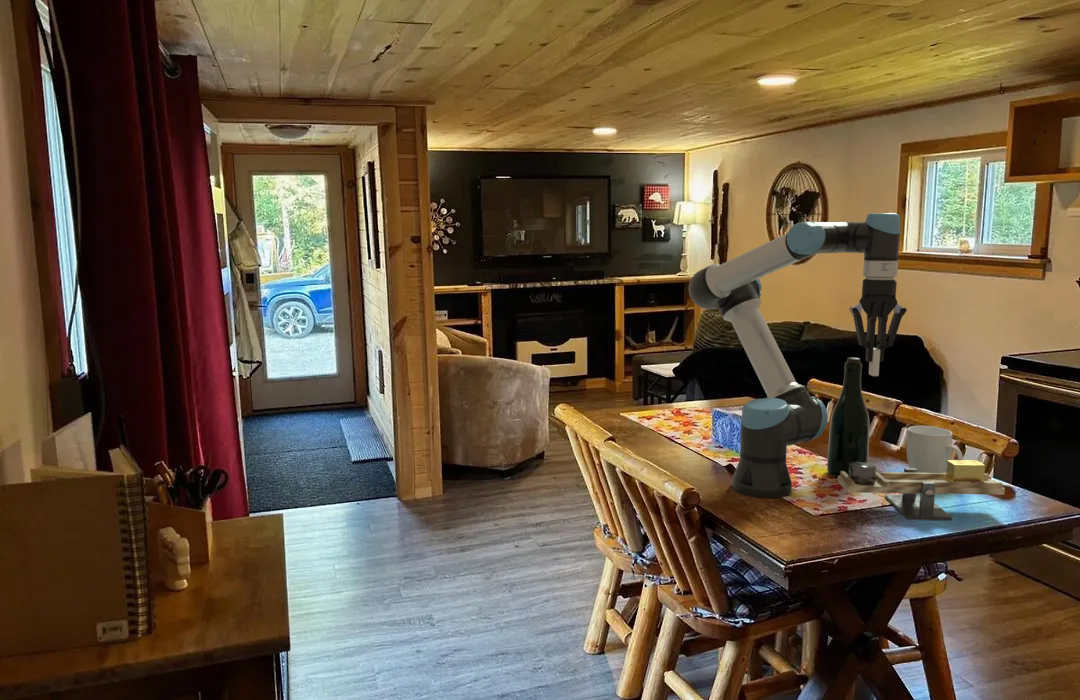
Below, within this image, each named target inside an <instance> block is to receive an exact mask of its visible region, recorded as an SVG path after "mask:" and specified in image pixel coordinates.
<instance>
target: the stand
mask: <svg viewBox="0 0 1080 700" xmlns="http://www.w3.org/2000/svg"><path fill="white" fill-rule="evenodd" d="M903 469H904V470H903V472H912V473H918V469H916V468H909V467H904V468H903ZM935 487H936V483H934V482H921V493H919V494H917V493H901V494H884V498H885V499H886V500H887V501H888V502H889V503H890V504H891V505H892V506H893V507H894V508H896V509H897V511H898V512H899V513H900V514H902V515H903V516H904V517H905V518H906V519H907V520H912V521H913V520H916V521H917V520H920V521H921V520H923V521H925V520H926V521H951V522H952V520H953V517H952V516H951V515H950V514H949V513H948V512H946V511H945V510H944V509H943V508H942V507H940V506H939V505H938V504H937V503H936V502H935V497H936V494H935Z"/></svg>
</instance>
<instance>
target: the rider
mask: <svg viewBox="0 0 1080 700" xmlns="http://www.w3.org/2000/svg"><path fill="white" fill-rule="evenodd" d="M985 471H986V464H983V462H980V461H979V460H975V459H974V460H970V459H968V460H967V459H963V460H958V459H949V460H947V468H946V480H947V481H963V482H970V481H974V482H984V473H986V472H985Z"/></svg>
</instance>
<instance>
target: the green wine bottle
mask: <svg viewBox="0 0 1080 700" xmlns="http://www.w3.org/2000/svg"><path fill="white" fill-rule="evenodd" d="M862 369H863V364H862V362H861V358H859V357H855V356H853V357H852V356H851V357H847V359H846V362H845V363H844V377H843V385H842V387H841V388H842V389H841V393H840V395H839V396H838V400H837V402H836V404H835V406H834V408H833V410H832V414H831V416H830V426H829V433H828V434H829V435H828V436H829V437H828V447H827V448H828V450H827V461H826V462H827V464H826V469H827V470H826V471H827V473H828V474H829V475H831V476H833V477H835V478H838V476H840V471H845V472H846V473H847V474H848V475H849V465H850V463H852V462H866V463H869V446H870V417H869V411H868V409H867V406H866V403H865V400H864V396H863V392H862Z"/></svg>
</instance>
